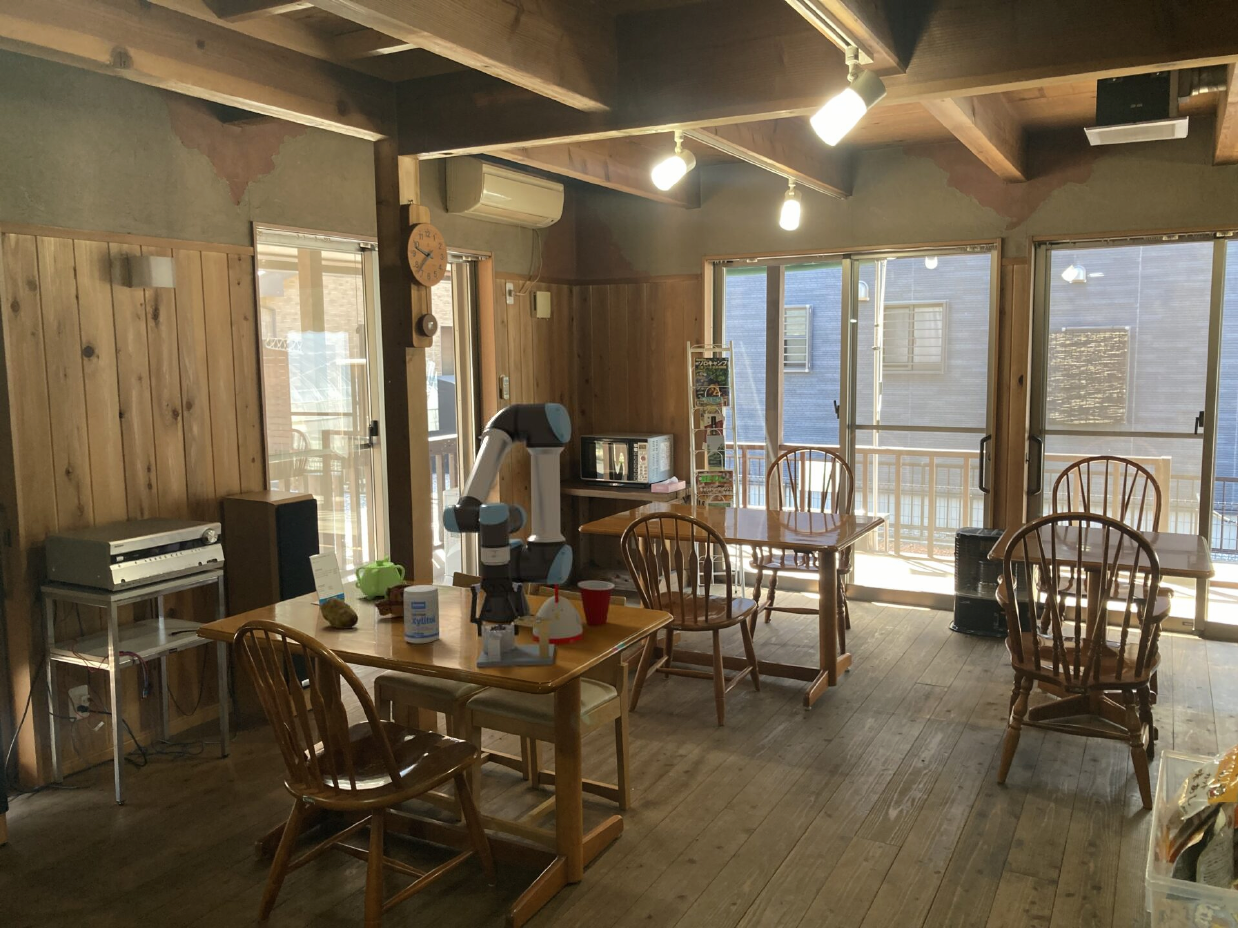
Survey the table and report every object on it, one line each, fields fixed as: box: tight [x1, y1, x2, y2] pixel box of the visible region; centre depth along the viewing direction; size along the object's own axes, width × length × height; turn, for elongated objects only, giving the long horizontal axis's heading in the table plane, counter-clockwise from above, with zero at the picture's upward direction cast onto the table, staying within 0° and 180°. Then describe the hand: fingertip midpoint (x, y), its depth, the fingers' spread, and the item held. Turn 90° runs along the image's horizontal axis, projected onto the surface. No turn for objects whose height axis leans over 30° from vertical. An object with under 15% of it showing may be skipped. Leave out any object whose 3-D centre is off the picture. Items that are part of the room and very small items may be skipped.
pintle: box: [493, 623, 503, 631], centre depth 253 cm, size 2×2×6 cm
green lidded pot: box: [354, 554, 408, 601], centre depth 324 cm, size 16×14×13 cm
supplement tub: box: [403, 584, 440, 644], centre depth 268 cm, size 10×10×15 cm
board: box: [476, 644, 556, 668], centre depth 249 cm, size 14×19×1 cm
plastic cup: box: [577, 580, 615, 627], centre depth 281 cm, size 11×11×12 cm
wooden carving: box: [374, 583, 417, 617], centre depth 296 cm, size 16×5×10 cm, turn 116°
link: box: [483, 624, 512, 662], centre depth 249 cm, size 15×7×6 cm, turn 2°
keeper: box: [514, 615, 553, 658], centre depth 246 cm, size 5×9×9 cm, turn 56°
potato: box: [320, 597, 359, 629], centre depth 285 cm, size 8×13×8 cm, turn 35°
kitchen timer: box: [532, 584, 584, 645], centre depth 267 cm, size 14×14×15 cm
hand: (499, 647), depth 253 cm, fingers closed on link, 7 cm apart
